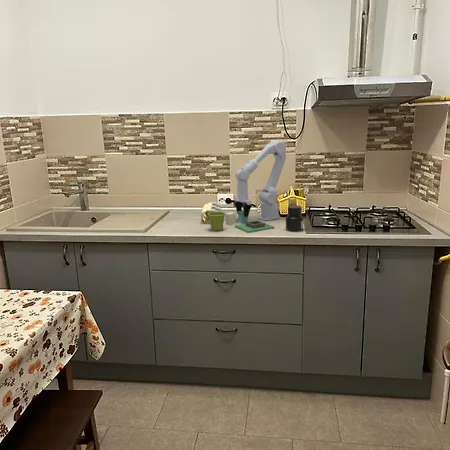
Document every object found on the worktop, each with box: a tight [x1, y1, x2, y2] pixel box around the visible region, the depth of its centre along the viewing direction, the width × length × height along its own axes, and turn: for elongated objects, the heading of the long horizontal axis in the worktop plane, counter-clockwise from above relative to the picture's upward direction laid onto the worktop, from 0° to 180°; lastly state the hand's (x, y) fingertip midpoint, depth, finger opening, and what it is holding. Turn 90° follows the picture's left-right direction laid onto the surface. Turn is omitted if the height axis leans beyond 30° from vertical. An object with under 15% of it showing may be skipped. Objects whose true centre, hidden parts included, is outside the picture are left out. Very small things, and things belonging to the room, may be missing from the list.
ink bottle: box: [285, 205, 304, 232], centre depth 218 cm, size 10×9×12 cm
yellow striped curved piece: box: [200, 201, 222, 225], centre depth 248 cm, size 25×10×13 cm, turn 179°
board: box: [234, 219, 275, 234], centre depth 226 cm, size 16×14×3 cm
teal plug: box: [237, 209, 249, 224], centre depth 239 cm, size 4×4×6 cm
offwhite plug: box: [224, 211, 237, 226], centre depth 235 cm, size 4×4×6 cm
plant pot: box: [207, 211, 227, 232], centre depth 224 cm, size 9×9×9 cm
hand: (242, 215), depth 239 cm, fingers open, 7 cm apart
